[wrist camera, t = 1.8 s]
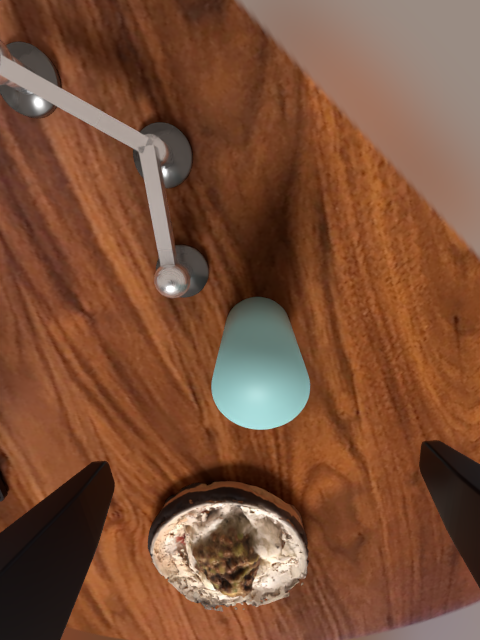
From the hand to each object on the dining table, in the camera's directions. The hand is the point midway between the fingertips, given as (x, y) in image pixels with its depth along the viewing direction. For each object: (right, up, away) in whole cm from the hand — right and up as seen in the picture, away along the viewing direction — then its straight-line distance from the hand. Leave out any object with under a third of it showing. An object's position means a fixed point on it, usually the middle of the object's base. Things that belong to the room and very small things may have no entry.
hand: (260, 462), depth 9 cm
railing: (-7, +11, +8) cm, 16 cm away
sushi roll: (-1, -13, +17) cm, 22 cm away
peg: (+1, +4, +10) cm, 11 cm away
